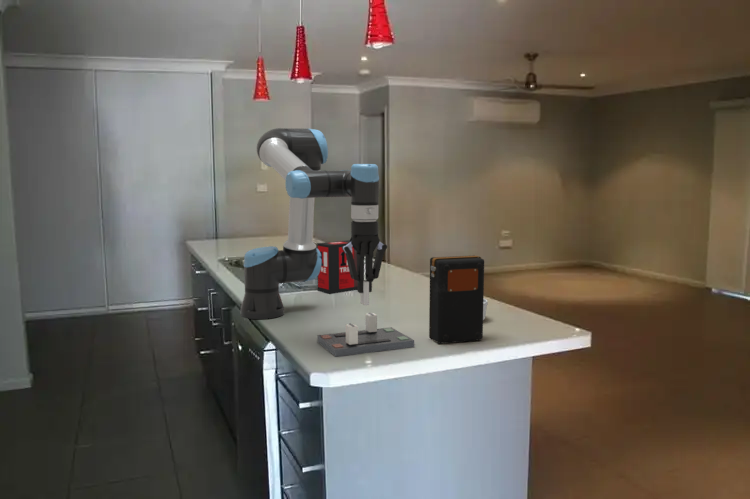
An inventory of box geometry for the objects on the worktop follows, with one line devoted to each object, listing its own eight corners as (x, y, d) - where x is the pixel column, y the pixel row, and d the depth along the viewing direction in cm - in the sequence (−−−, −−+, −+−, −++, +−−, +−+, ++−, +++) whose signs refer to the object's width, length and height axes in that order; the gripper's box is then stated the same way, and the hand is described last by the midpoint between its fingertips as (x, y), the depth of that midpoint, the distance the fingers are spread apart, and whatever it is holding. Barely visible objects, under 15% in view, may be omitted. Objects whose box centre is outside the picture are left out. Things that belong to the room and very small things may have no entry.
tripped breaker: (345, 341, 179) (345, 323, 178) (354, 340, 180) (353, 323, 179) (349, 344, 176) (349, 326, 175) (357, 343, 177) (357, 325, 176)
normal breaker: (365, 329, 192) (365, 313, 191) (373, 329, 193) (373, 312, 192) (369, 332, 189) (369, 315, 188) (377, 331, 190) (376, 314, 189)
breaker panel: (317, 342, 188) (317, 334, 187) (391, 333, 197) (391, 326, 197) (335, 356, 173) (335, 349, 173) (414, 347, 182) (414, 339, 182)
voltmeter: (473, 334, 196) (475, 254, 193) (486, 341, 188) (488, 258, 185) (426, 338, 192) (427, 256, 188) (437, 345, 184) (438, 260, 180)
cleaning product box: (349, 286, 275) (349, 240, 272) (362, 289, 268) (361, 242, 265) (317, 290, 264) (317, 243, 262) (329, 294, 258) (329, 245, 255)
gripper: (347, 222, 169) (347, 308, 172) (392, 220, 174) (391, 304, 177) (337, 219, 176) (338, 303, 179) (381, 218, 181) (380, 299, 184)
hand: (364, 303), depth 178 cm, fingers closed
